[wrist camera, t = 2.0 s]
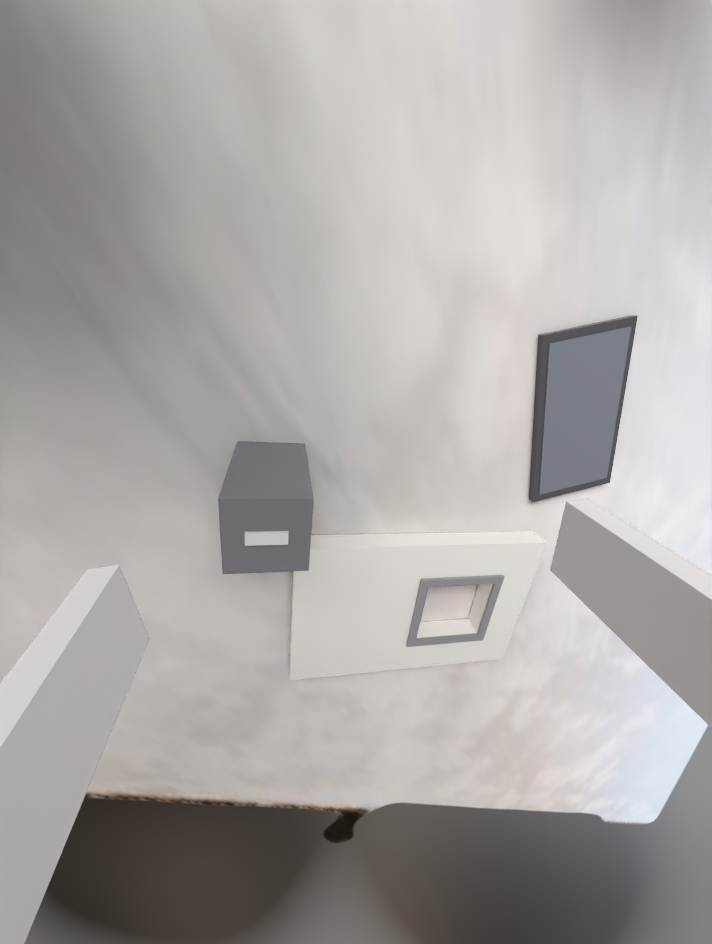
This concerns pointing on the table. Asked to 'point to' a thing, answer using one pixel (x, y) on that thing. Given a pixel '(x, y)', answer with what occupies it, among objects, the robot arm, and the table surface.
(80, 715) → the robot arm
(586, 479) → the phone
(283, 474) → the grey rectangular block
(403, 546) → the outlet plate
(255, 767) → the table surface
